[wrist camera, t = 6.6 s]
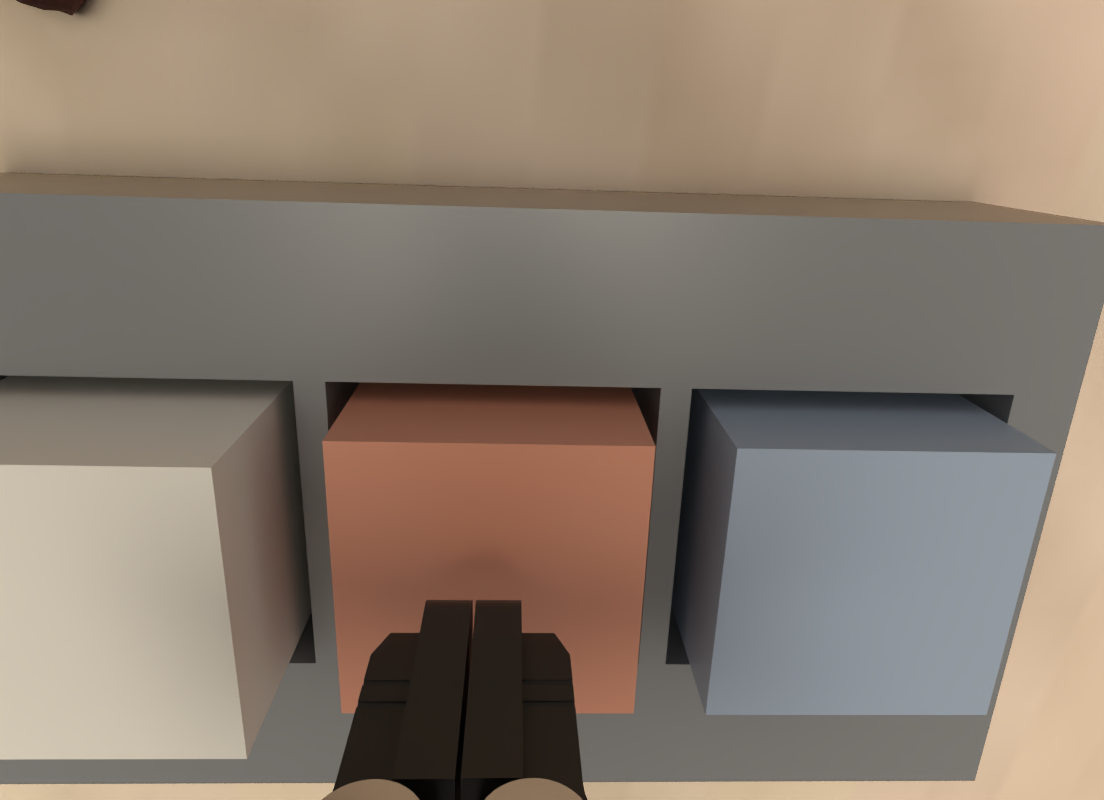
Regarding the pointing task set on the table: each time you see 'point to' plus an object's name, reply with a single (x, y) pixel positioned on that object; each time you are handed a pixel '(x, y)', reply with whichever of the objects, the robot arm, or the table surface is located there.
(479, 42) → the table surface
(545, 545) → the key terracotta
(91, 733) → the key white
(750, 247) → the console
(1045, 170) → the table surface
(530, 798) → the robot arm
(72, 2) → the book
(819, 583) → the key blue
